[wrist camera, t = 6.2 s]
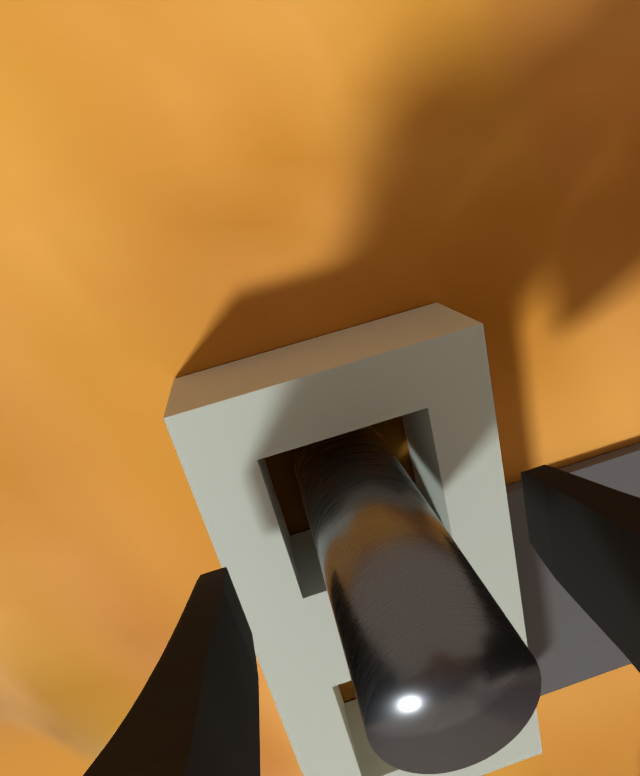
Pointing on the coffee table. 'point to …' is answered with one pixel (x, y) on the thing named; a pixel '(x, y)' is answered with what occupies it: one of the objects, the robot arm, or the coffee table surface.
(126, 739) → the robot arm
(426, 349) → the socket block
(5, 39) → the coffee table surface
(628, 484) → the rubber mat
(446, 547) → the steel peg
